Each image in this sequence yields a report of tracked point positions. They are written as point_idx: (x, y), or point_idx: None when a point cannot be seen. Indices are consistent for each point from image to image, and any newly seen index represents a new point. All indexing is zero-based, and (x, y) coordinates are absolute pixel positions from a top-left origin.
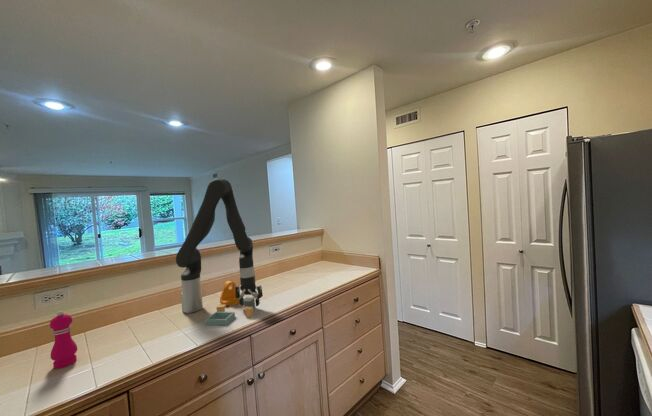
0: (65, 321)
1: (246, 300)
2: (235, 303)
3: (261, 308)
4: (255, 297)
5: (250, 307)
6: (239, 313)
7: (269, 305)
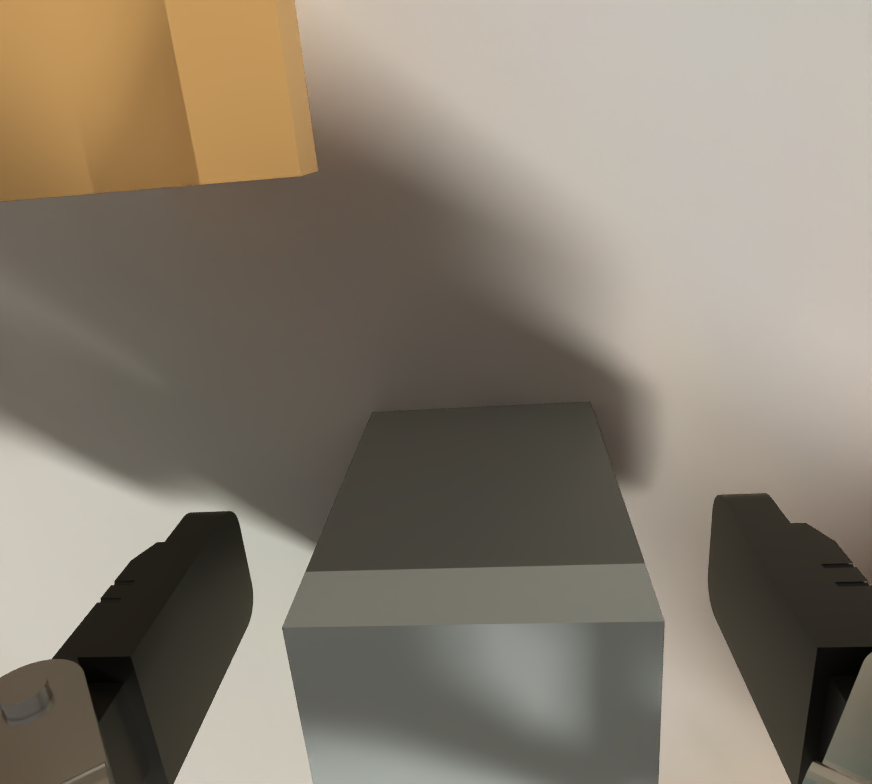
0: None
1: (509, 584)
2: None
3: None
4: (51, 728)
5: (29, 95)
6: (646, 195)
7: None
